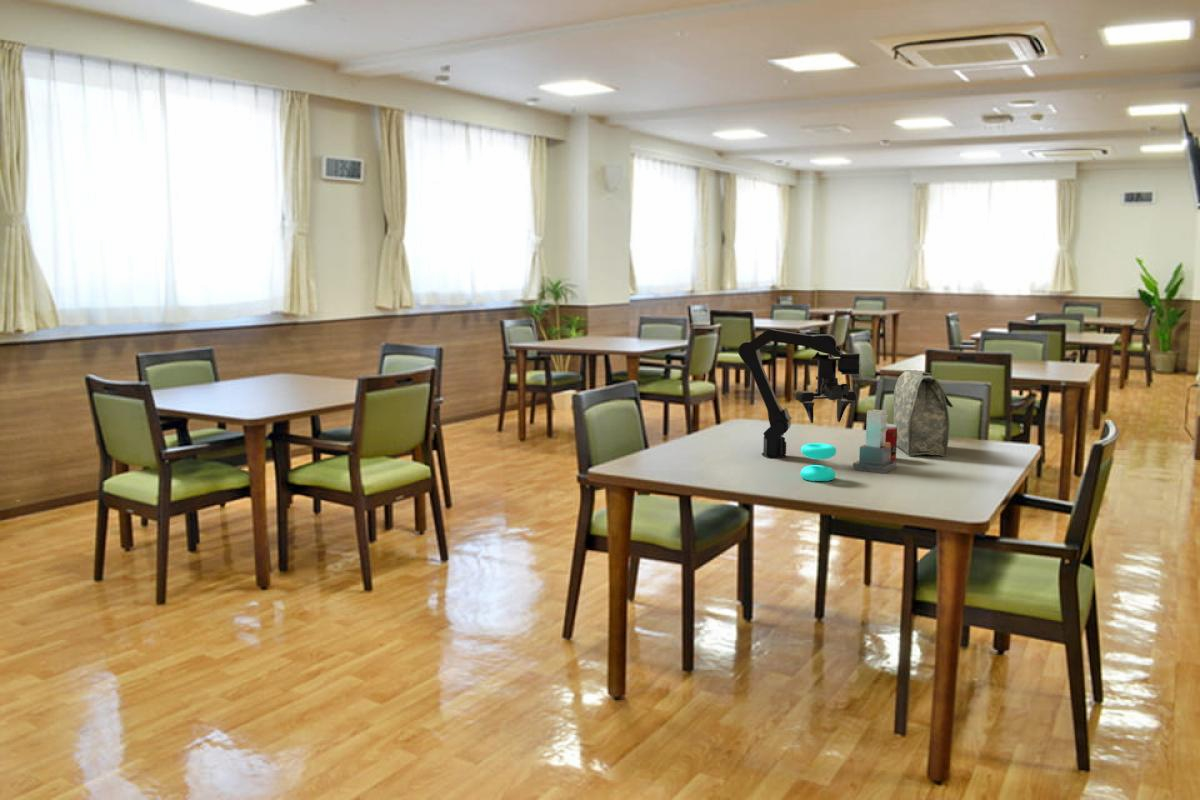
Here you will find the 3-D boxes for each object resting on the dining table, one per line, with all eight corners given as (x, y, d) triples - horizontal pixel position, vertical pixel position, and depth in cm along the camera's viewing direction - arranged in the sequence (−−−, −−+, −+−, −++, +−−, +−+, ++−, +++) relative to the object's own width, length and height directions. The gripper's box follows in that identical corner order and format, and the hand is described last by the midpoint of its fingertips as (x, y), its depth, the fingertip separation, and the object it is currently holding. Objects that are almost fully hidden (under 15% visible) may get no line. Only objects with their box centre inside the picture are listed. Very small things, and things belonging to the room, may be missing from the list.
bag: (954, 457, 316) (958, 373, 313) (904, 456, 317) (908, 373, 313) (933, 444, 339) (937, 366, 335) (887, 444, 339) (890, 366, 335)
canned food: (897, 461, 309) (898, 427, 307) (871, 460, 311) (872, 426, 309) (894, 457, 316) (896, 423, 315) (869, 456, 318) (870, 422, 316)
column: (865, 449, 297) (867, 411, 295) (870, 447, 300) (872, 409, 299) (881, 451, 294) (883, 412, 292) (887, 449, 297) (888, 410, 296)
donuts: (808, 441, 289) (841, 444, 284) (807, 474, 291) (839, 477, 285) (796, 446, 281) (829, 449, 276) (795, 480, 282) (828, 484, 277)
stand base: (852, 469, 297) (853, 442, 296) (864, 464, 305) (865, 437, 304) (884, 473, 291) (886, 445, 290) (896, 467, 299) (897, 440, 298)
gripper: (809, 377, 299) (808, 427, 302) (865, 376, 303) (863, 425, 305) (795, 373, 310) (794, 421, 312) (849, 372, 314) (848, 420, 316)
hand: (825, 422), depth 311 cm, fingers open, 9 cm apart
